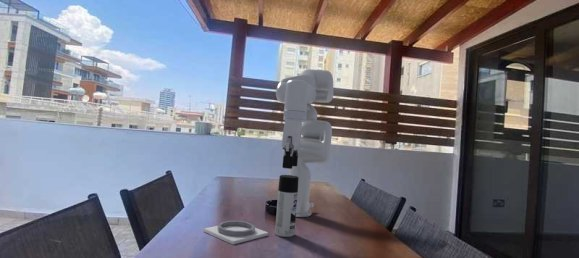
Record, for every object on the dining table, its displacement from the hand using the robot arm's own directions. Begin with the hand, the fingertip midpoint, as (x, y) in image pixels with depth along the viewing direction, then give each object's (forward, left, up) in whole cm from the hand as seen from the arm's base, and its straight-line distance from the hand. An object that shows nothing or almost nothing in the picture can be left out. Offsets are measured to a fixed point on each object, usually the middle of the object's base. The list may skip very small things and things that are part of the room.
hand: (290, 167), depth 118 cm
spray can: (0, 0, -23) cm, 23 cm away
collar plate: (+13, -10, -23) cm, 28 cm away
